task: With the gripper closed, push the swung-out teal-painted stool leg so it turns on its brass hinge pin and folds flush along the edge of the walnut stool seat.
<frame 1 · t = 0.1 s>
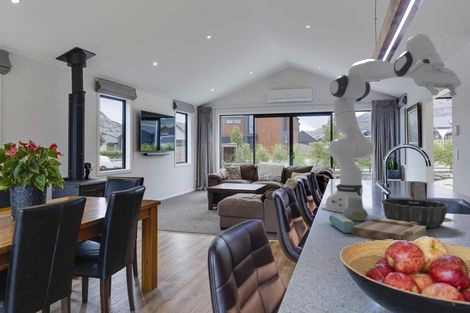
hand: (445, 95, 133), 54 cm above the kitchen island, tool tilted 30°, fingers open, 8 cm apart
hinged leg: (341, 222, 145), point 3 cm above the kitchen island, hinge at 45.0°
air freshener: (355, 220, 163), on the kitchen island
tin: (431, 218, 169), on the kitchen island
coffee box: (417, 212, 183), on the kitchen island
bundt pan: (413, 224, 154), on the kitchen island
stool seat: (383, 234, 135), on the kitchen island
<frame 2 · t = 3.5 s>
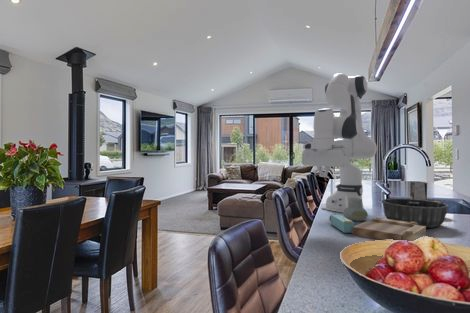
hand: (323, 176, 152), 21 cm above the kitchen island, tool pointing down, fingers closed
nothing on the kitchen island moved.
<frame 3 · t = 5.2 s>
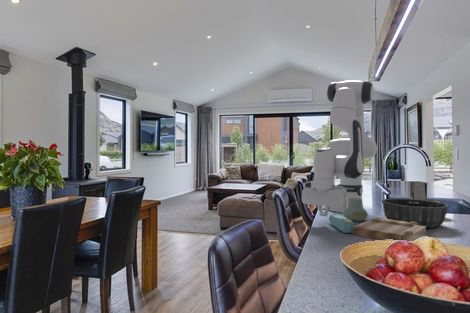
hand: (323, 216, 152), 4 cm above the kitchen island, tool pointing down, fingers closed
nothing on the kitchen island moved.
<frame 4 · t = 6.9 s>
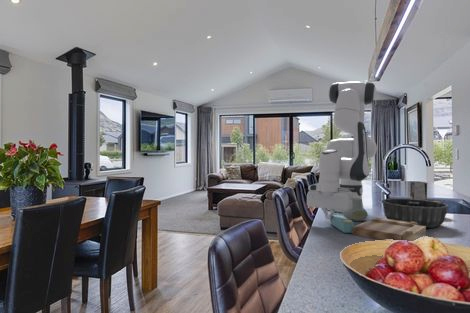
hand: (328, 218, 150), 3 cm above the kitchen island, tool pointing down, fingers closed
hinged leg: (341, 222, 145), point 3 cm above the kitchen island, hinge at 44.9°, touching gripper
everything else where it was.
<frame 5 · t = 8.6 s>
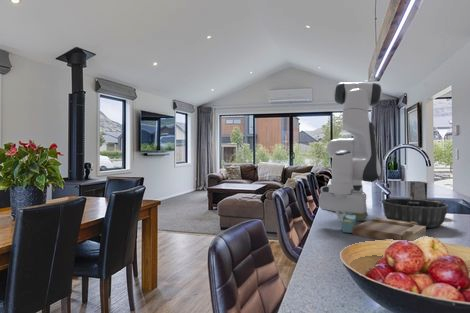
hand: (341, 221, 147), 3 cm above the kitchen island, tool pointing down, fingers closed
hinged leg: (349, 222, 144), point 3 cm above the kitchen island, hinge at 19.2°, touching gripper
everything else where it was.
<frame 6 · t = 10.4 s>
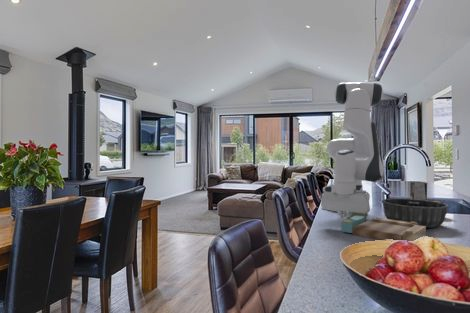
hand: (344, 221, 146), 3 cm above the kitchen island, tool pointing down, fingers closed
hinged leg: (354, 222, 143), point 3 cm above the kitchen island, hinge at 5.0°
everything else where it was.
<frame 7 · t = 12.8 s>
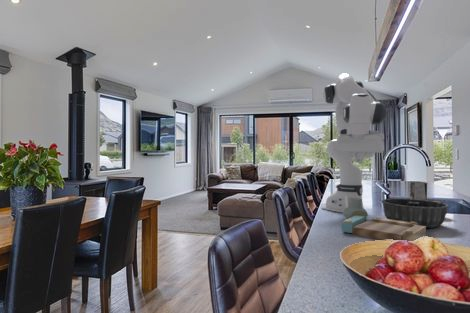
hand: (359, 162, 151), 27 cm above the kitchen island, tool pointing down, fingers closed
nothing on the kitchen island moved.
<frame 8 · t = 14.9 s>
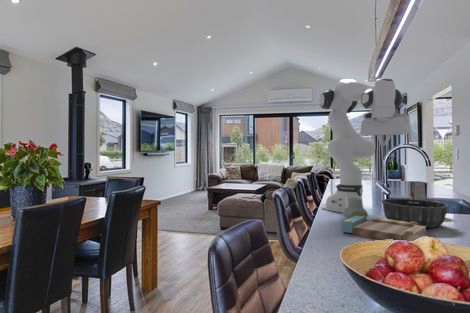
hand: (383, 145, 156), 35 cm above the kitchen island, tool pointing down, fingers closed
nothing on the kitchen island moved.
at the end: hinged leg at +5° (first picture: +45°) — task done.
